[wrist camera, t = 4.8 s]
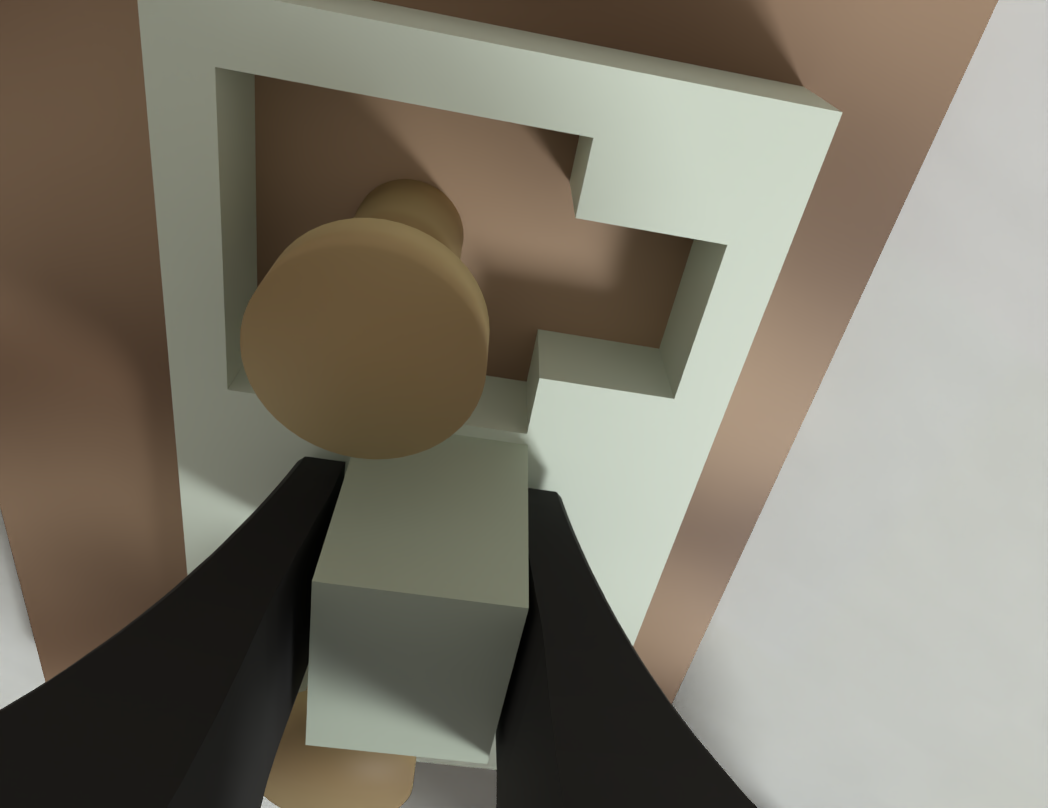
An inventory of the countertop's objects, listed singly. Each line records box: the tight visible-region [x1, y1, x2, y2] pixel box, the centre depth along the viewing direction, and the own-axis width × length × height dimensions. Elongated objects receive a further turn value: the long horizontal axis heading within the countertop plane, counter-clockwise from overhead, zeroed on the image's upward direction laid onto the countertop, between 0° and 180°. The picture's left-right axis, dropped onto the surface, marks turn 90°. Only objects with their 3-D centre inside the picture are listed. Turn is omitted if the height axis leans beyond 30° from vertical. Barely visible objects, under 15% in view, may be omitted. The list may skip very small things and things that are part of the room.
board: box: [0, 0, 998, 808], centre depth 12 cm, size 18×14×5 cm
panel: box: [137, 0, 843, 770], centre depth 12 cm, size 14×8×5 cm, turn 170°
